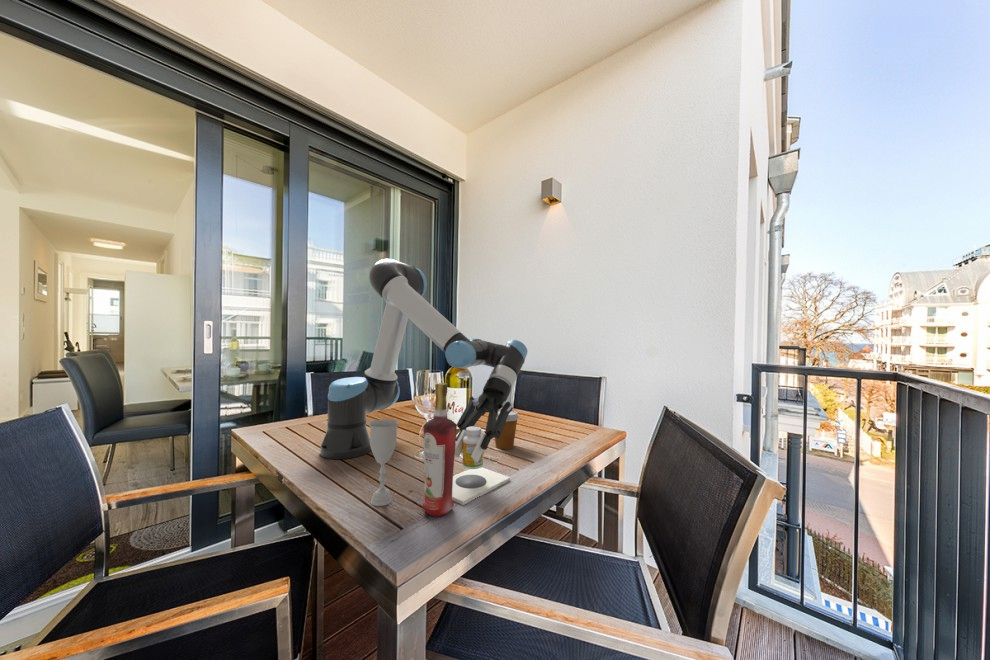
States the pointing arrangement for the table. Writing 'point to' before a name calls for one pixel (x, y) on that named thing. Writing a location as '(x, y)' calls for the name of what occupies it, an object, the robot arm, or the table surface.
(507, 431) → the disposable coffee cup
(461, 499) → the cream rectangular slab
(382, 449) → the chalice
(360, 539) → the table surface
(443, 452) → the liquor
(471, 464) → the supplement bottle
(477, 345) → the robot arm
